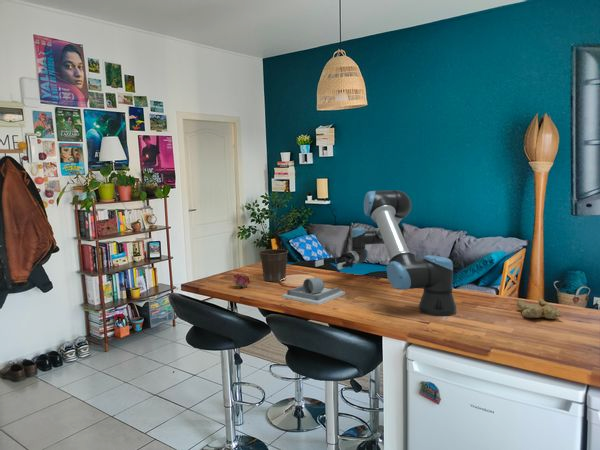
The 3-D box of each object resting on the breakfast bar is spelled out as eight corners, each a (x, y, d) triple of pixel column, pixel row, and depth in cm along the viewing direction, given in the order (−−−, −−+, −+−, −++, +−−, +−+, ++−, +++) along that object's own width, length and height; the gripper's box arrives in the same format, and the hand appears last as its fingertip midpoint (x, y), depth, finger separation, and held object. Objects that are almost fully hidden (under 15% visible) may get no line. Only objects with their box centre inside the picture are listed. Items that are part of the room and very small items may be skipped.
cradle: (345, 294, 219) (345, 287, 219) (318, 305, 202) (318, 298, 202) (309, 287, 233) (309, 281, 233) (281, 297, 216) (281, 290, 215)
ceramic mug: (325, 292, 218) (325, 277, 217) (313, 295, 212) (312, 280, 212) (311, 289, 226) (310, 274, 225) (298, 292, 220) (298, 276, 220)
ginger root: (564, 323, 169) (559, 302, 169) (519, 327, 176) (514, 307, 176) (562, 312, 183) (557, 293, 183) (519, 316, 190) (515, 298, 190)
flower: (245, 287, 228) (250, 273, 232) (228, 284, 229) (233, 269, 233) (248, 294, 237) (252, 280, 240) (231, 290, 238) (236, 276, 241)
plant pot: (254, 279, 252) (253, 251, 250) (276, 275, 263) (275, 247, 261) (272, 284, 240) (271, 255, 238) (294, 279, 251) (294, 251, 249)
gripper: (369, 268, 235) (348, 275, 218) (330, 263, 250) (307, 270, 234) (369, 253, 234) (347, 260, 218) (329, 249, 250) (306, 255, 233)
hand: (326, 265), depth 226 cm, fingers open, 13 cm apart
